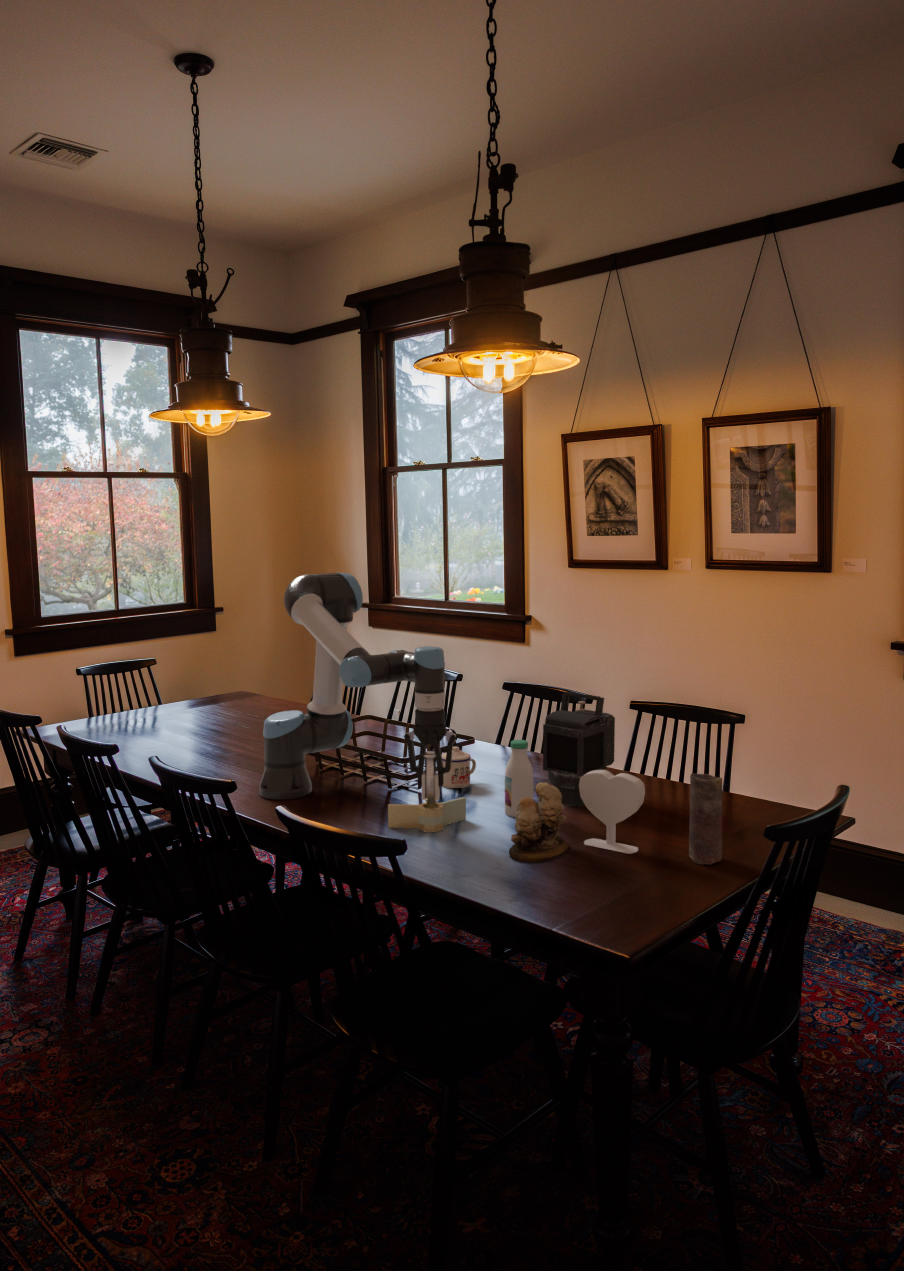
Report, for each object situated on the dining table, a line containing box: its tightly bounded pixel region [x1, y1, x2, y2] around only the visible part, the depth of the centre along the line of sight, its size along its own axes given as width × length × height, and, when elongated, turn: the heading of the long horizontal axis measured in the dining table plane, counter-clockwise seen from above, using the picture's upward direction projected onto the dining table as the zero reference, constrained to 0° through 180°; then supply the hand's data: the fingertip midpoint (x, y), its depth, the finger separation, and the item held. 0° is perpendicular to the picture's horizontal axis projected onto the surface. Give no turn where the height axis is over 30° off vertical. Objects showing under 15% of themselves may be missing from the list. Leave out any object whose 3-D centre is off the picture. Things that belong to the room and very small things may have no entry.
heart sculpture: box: [579, 769, 646, 855], centre depth 208 cm, size 16×5×18 cm, turn 57°
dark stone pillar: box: [688, 773, 723, 866], centre depth 199 cm, size 8×7×20 cm
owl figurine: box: [508, 781, 569, 864], centre depth 205 cm, size 18×12×17 cm, turn 139°
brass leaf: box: [387, 801, 445, 833], centre depth 223 cm, size 14×6×6 cm, turn 83°
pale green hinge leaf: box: [418, 796, 467, 826], centre depth 224 cm, size 14×6×6 cm, turn 128°
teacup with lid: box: [441, 746, 477, 789], centre depth 261 cm, size 12×9×12 cm
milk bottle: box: [504, 739, 535, 818], centre depth 232 cm, size 8×8×20 cm
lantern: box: [542, 691, 616, 807], centre depth 245 cm, size 15×18×30 cm
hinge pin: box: [423, 750, 437, 804], centre depth 221 cm, size 4×4×13 cm
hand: (430, 798), depth 221 cm, fingers closed on hinge pin, 3 cm apart
